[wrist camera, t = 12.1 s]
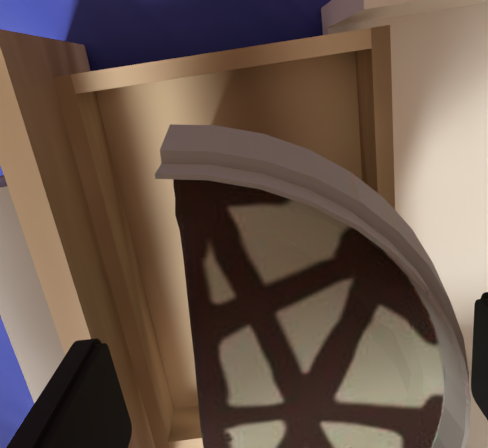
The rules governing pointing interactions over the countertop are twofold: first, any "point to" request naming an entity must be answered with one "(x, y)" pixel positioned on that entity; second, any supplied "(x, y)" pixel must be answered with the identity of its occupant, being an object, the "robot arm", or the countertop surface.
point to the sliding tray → (152, 193)
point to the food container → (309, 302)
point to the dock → (438, 140)
